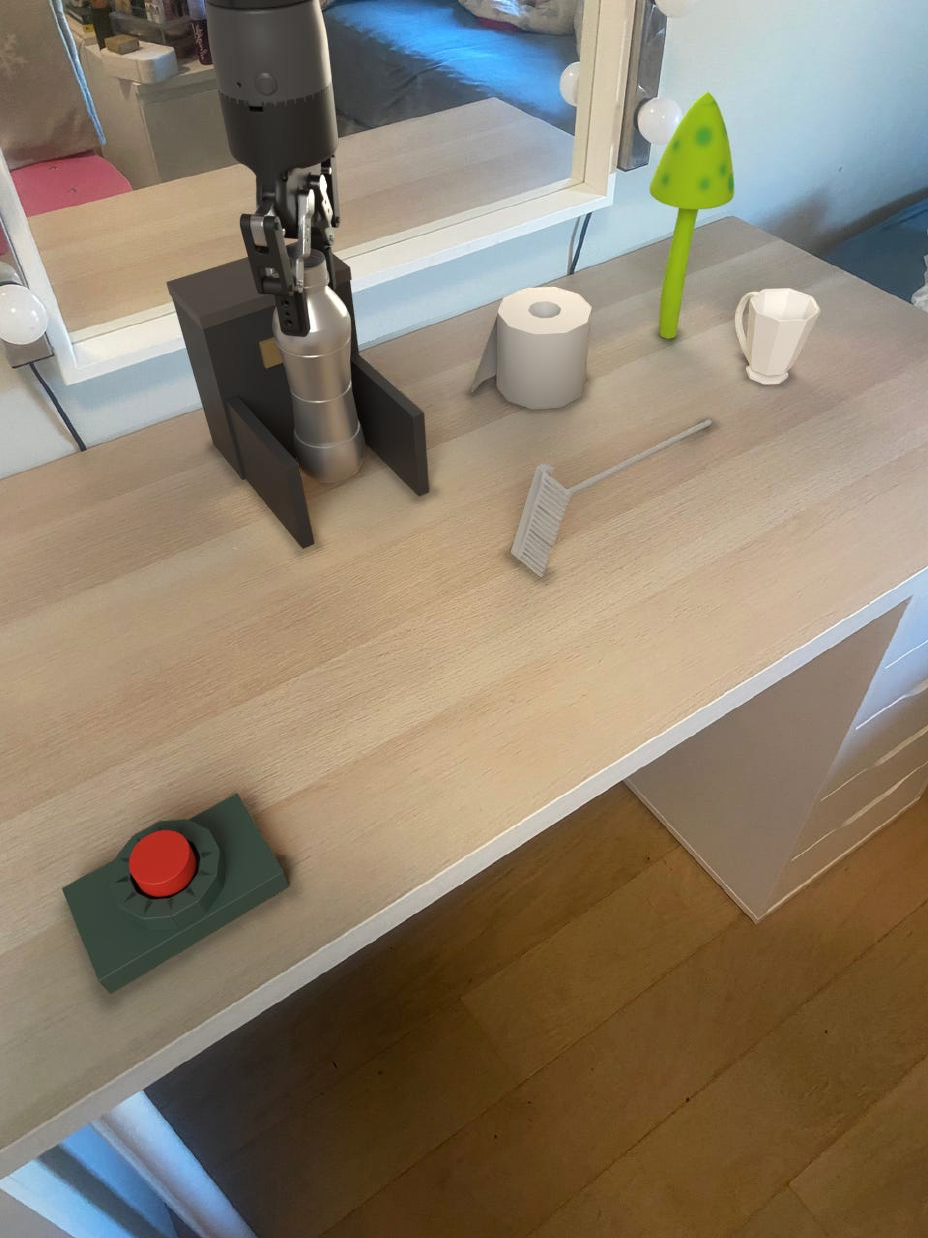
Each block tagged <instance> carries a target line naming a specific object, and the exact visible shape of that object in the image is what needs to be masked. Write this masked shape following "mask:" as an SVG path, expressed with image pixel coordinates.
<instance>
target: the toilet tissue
mask: <svg viewBox="0 0 928 1238" xmlns="http://www.w3.org/2000/svg"><path fill="white" fill-rule="evenodd" d="M592 310H593V307H592V306H591V305H590V304H589V303H588V302H587V301H586V300H585V299H584V298H583V296H582V295H581V294H580V293H577V292H574V291H570V290H566V289H563V288H560V287H556V286H541V287H539V286H538V287H524V288H522V289H520V290H517V291H515V292H513V293H511V294H509V295H506V296H504V297H503V298H502V301H501V302H500V305H499V307H498V309H497V312H496V317H495V320H494V323H493V326H492V329H491V331H490V334H489V336H488V340H487V342H486V344H485V348H484V350H483V353H482V356H481V359H480V361H479V364H478V367H477V370H476V372H475V374H474V375H475V376H474V380H473V384H472V389H471V392H470V394H472V393H474V391H475V390H477V388H478V387H479V385H481V384H482V382H484V381H485V380H488V379H490V378H492V377H494V376H496V388H497V389H498V391H499V392H500V393H501V395H502V396H503V397H504V398H505V399H506V401H507V402H509V403H512V404H515V405H517V406H521V407H524V408H527V409H529V410H544V409H545V410H546V409H560V408H563V407H565V406H566V405H568V404H570V403H572V402H574V401H576V400H578V399H579V398H581V397H582V393H583V389H584V386H585V384H586V383H585V382H586V376H587V375H586V373H587V366H588V365H587V364H588V363H587V362H588V354H589V353H588V352H589V342H590V331H591V321H592Z"/></svg>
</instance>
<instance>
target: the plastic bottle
mask: <svg viewBox="0 0 928 1238" xmlns="http://www.w3.org/2000/svg"><path fill="white" fill-rule="evenodd" d="M288 259H289V263H290V268H291V272H292V260H291V258H290V257H288ZM328 283H329V273H328V271H327V267H326V259H325V256H324V254H323V253H322V252H320V251H318V250H315V249H311V251H310V256H309V257H308V258H306V259H305V260H304V287H303V288H305V294H306V301H307V307H308V314H309V320H310V327H311V329H310V331H309V333H308V335H307V336H306V337H297V336H287V335H285V334H283V333H282V332H281V329H280V323H279V318H278V312H277V307H276V308H275V310H274V313H273V320H272V330H273V333H274V337H275V340H276V343H277V346H278V349H279V352H280V355H281V358H282V361H283V364H284V367H285V370H286V375H287V379H288V383H289V386H290V392H291V396H292V402H293V413H294V425H295V427H294V453H295V456H296V458H295V459H296V462H297V463H298V464H299V468H300V470H301V471H302V472H303V473H304V474H306V475H307V476H308V477H309V478H310V479H312V480H314V481H317V482H318V483H319V482H320V483H326V484H335V483H339V482H343V481H346V480H348V479H350V478H352V477H353V476H354V475H356V474H357V472H358V471H359V470H360V468H361V467H362V465H363V463H364V461H365V457H366V456H365V455H366V446H367V445H366V444H365V438H364V435H363V431H362V427H361V425H360V422H359V420H358V417H357V412H356V407H355V403H354V398H353V393H352V383H351V368H350V348H351V319H350V315H349V313H348V311H347V308H346V306H345V304H344V303H343V302H342V301H341V299H340V298H339V297H338V296H337V294H336V293H335V292H333V291H332V290H331V289H330V288H329V287H328V286H327V285H328Z"/></svg>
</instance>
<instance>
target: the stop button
mask: <svg viewBox="0 0 928 1238" xmlns="http://www.w3.org/2000/svg"><path fill="white" fill-rule="evenodd" d="M129 868H130V872H131V874H132V876H133V877H134V879H135V880H136V882H137V883H138V885H139V887H140V888H141V889H142V890H143V891H144V892H145V893H147V894H149V895H151V896H156V897H164V896H169V895H172V894H175V893H177V892H178V891H180V890H181V889H183V888H184V887H185V886H186V885H187V884H188V883H189V882H190V880H191V879H192V877H193V875H194V872H195V869H196V858H195V855H194V853H193V851H192V849H191V847H190V845H189V843H188V841H187V840H186V838H185V837H184V836H183V835H181V834H180V833H178V832H175V831H171V830H161V831H156V832H153V833H151V834H149V835H147V836H146V837H144V838H143V839H142V840H140V841H139V842H138V844H137V845H136V846H135V847H134V849H133V851H132V853H131V855H130V859H129Z"/></svg>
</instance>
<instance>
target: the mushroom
mask: <svg viewBox="0 0 928 1238" xmlns="http://www.w3.org/2000/svg"><path fill="white" fill-rule="evenodd" d="M734 175H735V174H734V166H733V158H732V152H731V145H730V139H729V135H728V131H727V126H726V123H725V119H724V117H723V113H722V111H721V108H720V106H719V104H718V102H717V100H716V98H715V97H714V96H713V95H712V94H711V93H710V92H709V91H706V92H705V93H704V94H702V95H701V96H700V97H698V98H697V99H696V100H695V101H694V103H693V104H692V105H690V108H689V109H688V110H687V111H686V112H685V114H684V116H683V117H682V119H681V120H680V122H679V124H678V125H677V127H676V129H675V130H674V132H673V134H672V136H671V137H670V139H669V141H668V143H667V145H666V147H665V149H664V151H663V153H662V155H661V157H660V160H659V162H658V164H657V167H656V169H655V171H654V173H653V176H652V179H651V181H650V184H649V190H648V191H649V194H650V195H651V197H652V198H653V199H655V200H656V201H657V202H660V203H661V204H663V205H666V206H670V207H673V208H677V216H676V220H675V225H674V229H673V233H672V239H671V242H670V247H669V251H668V255H667V259H666V265H665V270H664V276H663V281H662V286H661V287H662V288H661V293H660V301H659V302H660V303H659V320H658V321H659V326H658V327H659V333H658V334H659V336H660V337H661V338H664V339H674V338H675V337H677V330H678V325H679V320H680V319H679V318H680V313H681V306H682V302H683V301H682V300H683V294H684V287H685V282H686V281H685V280H686V275H687V269H688V261H689V257H690V252H691V245H692V241H693V237H694V236H693V235H694V231H695V226H696V220H697V218H698V213H699V210H708V209H709V210H711V209H715V208H718V207H722V206H724V205H726V204H729V202H731V201H732V200H733V199H734V196H735V177H734Z"/></svg>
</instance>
